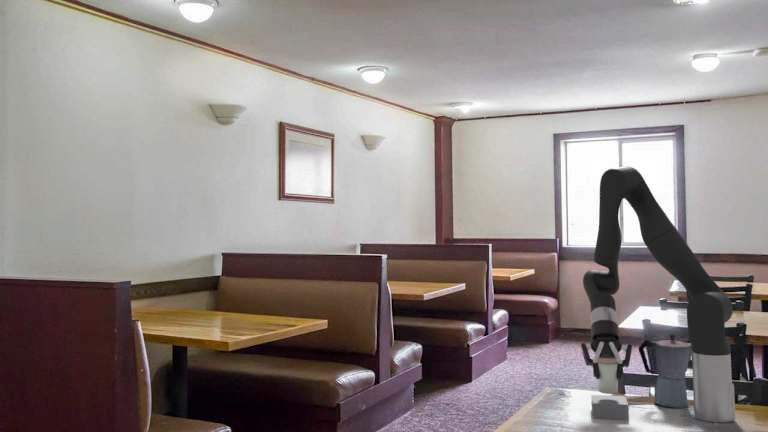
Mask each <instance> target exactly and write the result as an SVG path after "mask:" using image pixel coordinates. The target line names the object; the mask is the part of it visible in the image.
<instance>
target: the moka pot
mask: <svg viewBox="0 0 768 432" xmlns="http://www.w3.org/2000/svg"><path fill="white" fill-rule="evenodd" d="M646 347H648V348H650V349H654V352H655V361H656V362H655V363H656V369H657V379H656V380H657V381H656V388H655V393H654V399H653V403H655V404H657V405H659V406H662V407H666V408H675V409H682V408H684V409H685V408H686V407H687V408H688V403H689V402H688V393H687V381H686V379H685V378H686V372H688V366H689V362H690V359H692V346H691V343H688V342H683V341H679V340H676V334H673V333H672V334H669V339H664V340H663V339H662V340H658V341H657V340H655V341H653V340H648V339H645V340H644V341H643V342H642V343H641V344H640V345H639V346H638V352H639V355H640V358H641V359H642V363H643V367H644V369H645V372H646V373H650V374H655V372H656V370H655V369H651V368H650V367H649V364H648V360H647V357H646V353H645V350H644V348H646Z"/></svg>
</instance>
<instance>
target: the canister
mask: <svg viewBox="0 0 768 432" xmlns="http://www.w3.org/2000/svg"><path fill="white" fill-rule="evenodd" d="M617 363H618V359H617V358H615V357H598V366H599V379H598V392H599V393H601V394H605V395H606V394H607V395H615V394H616V395H617V394H618V393H619V380H618V372H617Z"/></svg>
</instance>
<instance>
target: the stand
mask: <svg viewBox="0 0 768 432" xmlns="http://www.w3.org/2000/svg"><path fill="white" fill-rule="evenodd" d="M590 398H591V414H592V418H593V419H598V420H600V419H601V420H602V419H603V420H619V421H621V420H622V421H629V420H630V417H629V416H630V415H629V414H630V412H629V410H630V409H629V403H628V400H627V398H626V395H608V394H607V395H606V394H605V395H601V394H591V397H590Z"/></svg>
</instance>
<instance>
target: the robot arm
mask: <svg viewBox="0 0 768 432" xmlns="http://www.w3.org/2000/svg"><path fill="white" fill-rule="evenodd" d="M624 199H625V200H626V201H627V202H628V204H629V205H630V206H631V208H632V209H633V211H634V213H635V214H636V216H637V219H638V222H639V230H640V235H641V238H642V241H643V243H644V244H645V247H646V248H647V250H649V252H650V254H651V255H652V256H653V259H655V260H656V261H657V263H658V264H659V265H660V266H661V267H662V268H664V270H666V271H667V272H668V273H669V274H670V275H671V276H673V277H674V278H675V279H676V280H677V281H678V282H679V283H680V284H681V285H682V286H683V287H684V289H685V290H686V292H687V294H688V295H689V296H690V299H689V300H688V302H687V306H686V320H687V321H686V324H687V334H688V340H689V344H691V346H692V356H691V362H692V363H691V364H692V387H693V390H692V391H693V392H692V393H693V394H692V395H693V417H695V419H699V420H702V421H704V422H705V421H706V422H709V423H729V422H736V405H735V404H736V403H735V401H736V400H735V385H734V383H733V382H732V359H731V358H732V356H731V355H732V354H731V352H732V351H731V343H730V342H729V341H728V339H727V337H726V327H725V324H726V323H727V322H728V321H729V320H730V319H731V318H732V315H733V312H734V310H733V309H734V308H733V303H732V302H731V300H730V297H728V295H727V294H726V293H725V291H723V290H722V289H721V287H720V286H719V285H718V284H717V283H716V282H715V281H714V280H713V278H712V277H711V275H709V274H708V272H707V271H706V270H705V268H704V267H703V265H702V264H701V263H700V260H699V259H698V258H697V256H696V255H695V253H694V252H693V250H692V249H691V248H690V246H689V244H687V242H686V240H685V239H684V237H683V236H682V234H681V233H680V232H679V230H678V229H677V228H676V226H675V225H674V223H672V222H671V220H670V218H669V217H668V215H667V214H666V212H665V211H664V209H663V208H662V207H661V205H660V204H659V203H658V201H657V200H656V198H655V197H654V195H653V193H652V192H651V189H650V188H649V186H648V184H647V182H646V181H645V179H644V177H643V176H642V174H641V173H640V172H639V171H638V169H636V168H634V167H632V166H619V167H612V168H609V169H607V170H605V171H604V172H603V173H602V175H601V178H600V181H599V209H598V210H599V213H598V216H599V217H598V229H597V230H598V232H597V236H596V237H597V238H596V243H595V248H594V253H593V261H594V262H595V263H596V264H597V265H599V266H602V267H605V268H606V269H608V271H606V270H605V271H604V270H598V269H597V270H596V269H589V270H587V271H586V272H585V273H584V275H583V278H582V285H583V288H584V291H585V293H586V296H587V297H588V298H587V299H588V302H589V303H590V329H591V330H590V332H591V333H590V334H591V342H590V343H587V344H586V343H584V342H583V343H581V344H580V351H581V353H582V356H583V359H584V362H585V365H586V366H587V367H590V366H591V367H592V373H593V374H592V375H593V377H594V378H595V379H596V380H599V366H598V357H615V358H617V359H618V363H617V372H618V381H621V379H623V377H624V368H628V367H629V365H630V362H631V357H632V351H633V345H632V344H630V343H628V344H622V342H621V339H620V330H619V329H620V328H619V319H618V315H617V306H616V299H615V298H614V297H613V295H616V293H618V291H619V290H620V277H619V276H620V275H619V259H620V258H619V257H620V253H621V248H622V241H623V239H622V238H623V237H622V231H621V226H620V221H619V212H620V207H621V204H622V201H623V200H624ZM590 349H591V350H592V351H593V352H594V357H593V359H592V358H591V356H590V354H589V352H590V351H591V350H590ZM622 350H623V353H624V354H625V355H624V359H622V358H621V355H620V351H622Z"/></svg>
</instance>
